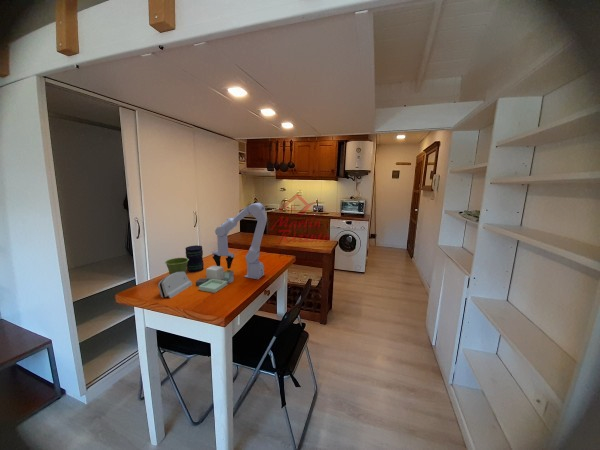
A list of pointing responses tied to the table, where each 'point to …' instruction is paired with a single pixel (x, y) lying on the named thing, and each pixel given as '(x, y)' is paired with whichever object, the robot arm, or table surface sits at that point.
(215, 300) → the table surface
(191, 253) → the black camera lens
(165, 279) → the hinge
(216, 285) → the tray
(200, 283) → the square block
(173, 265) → the plant pot
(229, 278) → the block
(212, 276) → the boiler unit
